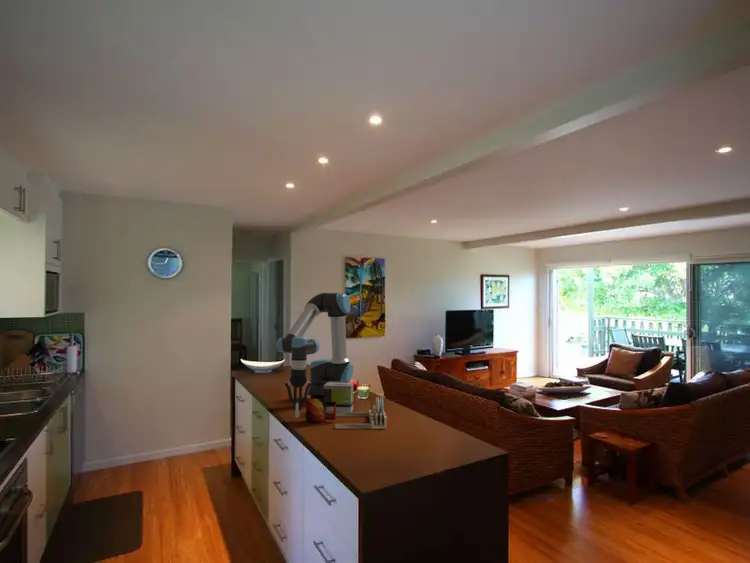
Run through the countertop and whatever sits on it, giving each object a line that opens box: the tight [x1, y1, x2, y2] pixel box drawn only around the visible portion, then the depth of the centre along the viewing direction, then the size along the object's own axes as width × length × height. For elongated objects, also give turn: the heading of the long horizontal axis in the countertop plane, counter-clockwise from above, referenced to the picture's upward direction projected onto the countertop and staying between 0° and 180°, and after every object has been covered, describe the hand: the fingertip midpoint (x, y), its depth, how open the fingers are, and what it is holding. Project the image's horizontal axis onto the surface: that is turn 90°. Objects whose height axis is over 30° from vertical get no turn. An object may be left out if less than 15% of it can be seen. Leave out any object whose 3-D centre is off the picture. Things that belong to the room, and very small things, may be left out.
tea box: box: [323, 382, 354, 414], centre depth 226 cm, size 15×10×15 cm
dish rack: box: [334, 396, 388, 430], centre depth 207 cm, size 22×24×12 cm
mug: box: [305, 395, 337, 425], centre depth 208 cm, size 10×14×12 cm
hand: (297, 416), depth 207 cm, fingers closed
